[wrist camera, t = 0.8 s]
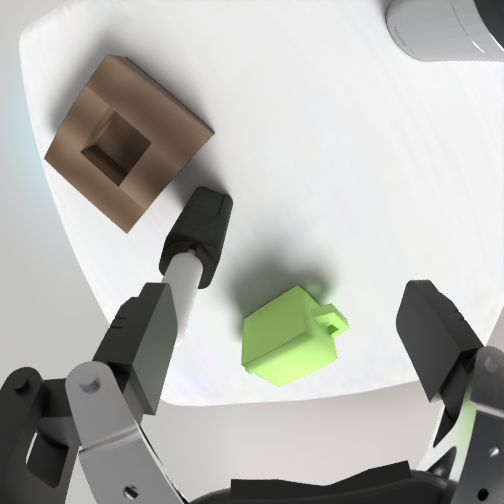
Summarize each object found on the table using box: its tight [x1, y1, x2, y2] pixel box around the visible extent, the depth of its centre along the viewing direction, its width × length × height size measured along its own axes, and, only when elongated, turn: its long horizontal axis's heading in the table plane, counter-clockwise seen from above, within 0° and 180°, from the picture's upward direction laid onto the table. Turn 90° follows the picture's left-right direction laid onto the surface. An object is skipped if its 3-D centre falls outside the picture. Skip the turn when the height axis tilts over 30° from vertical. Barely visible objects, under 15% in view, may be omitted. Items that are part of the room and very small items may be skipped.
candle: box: [159, 186, 233, 348], centre depth 27 cm, size 5×5×25 cm
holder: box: [44, 55, 215, 233], centre depth 31 cm, size 15×15×5 cm
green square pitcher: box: [241, 285, 349, 386], centre depth 43 cm, size 18×10×10 cm, turn 132°
